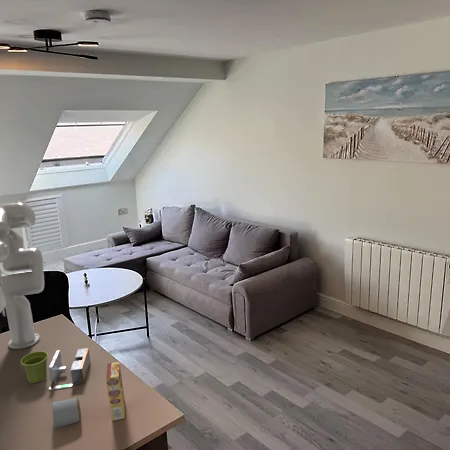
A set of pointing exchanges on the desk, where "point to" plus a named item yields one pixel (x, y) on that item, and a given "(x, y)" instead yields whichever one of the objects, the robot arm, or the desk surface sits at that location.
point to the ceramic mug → (66, 412)
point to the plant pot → (35, 366)
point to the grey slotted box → (78, 369)
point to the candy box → (115, 391)
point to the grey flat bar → (56, 368)
